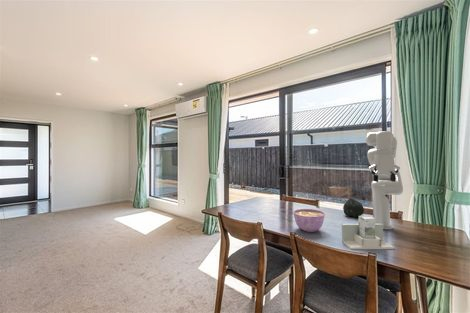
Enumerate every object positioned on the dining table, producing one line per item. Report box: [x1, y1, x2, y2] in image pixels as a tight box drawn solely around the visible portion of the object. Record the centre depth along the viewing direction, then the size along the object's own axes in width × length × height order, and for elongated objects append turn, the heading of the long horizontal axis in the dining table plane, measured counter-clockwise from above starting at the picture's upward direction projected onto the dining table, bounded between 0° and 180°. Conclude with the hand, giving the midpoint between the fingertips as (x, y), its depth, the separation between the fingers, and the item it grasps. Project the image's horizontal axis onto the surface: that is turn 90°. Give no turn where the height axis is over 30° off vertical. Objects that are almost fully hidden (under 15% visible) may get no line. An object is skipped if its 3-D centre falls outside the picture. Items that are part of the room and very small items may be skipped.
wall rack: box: [341, 223, 395, 250], centre depth 122 cm, size 11×22×10 cm, turn 88°
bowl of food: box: [292, 208, 326, 233], centre depth 148 cm, size 20×20×12 cm
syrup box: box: [358, 215, 375, 239], centre depth 122 cm, size 6×6×14 cm
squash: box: [342, 197, 365, 218], centre depth 177 cm, size 14×15×15 cm
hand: (384, 181), depth 131 cm, fingers open, 9 cm apart
